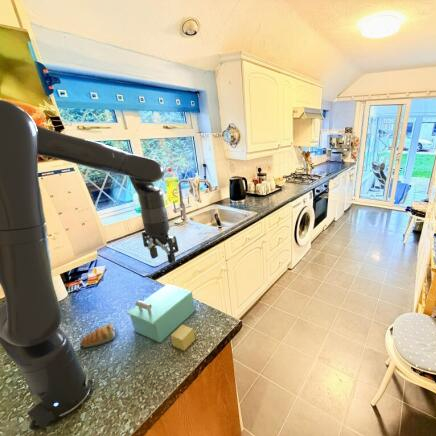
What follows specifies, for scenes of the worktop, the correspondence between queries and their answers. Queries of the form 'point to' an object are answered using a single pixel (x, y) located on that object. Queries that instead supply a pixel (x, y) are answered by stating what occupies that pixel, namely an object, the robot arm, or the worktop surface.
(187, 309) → the cool box
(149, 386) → the worktop surface
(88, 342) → the pastry
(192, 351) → the worktop surface
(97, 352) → the worktop surface
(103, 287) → the worktop surface
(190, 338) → the block
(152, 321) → the lid
